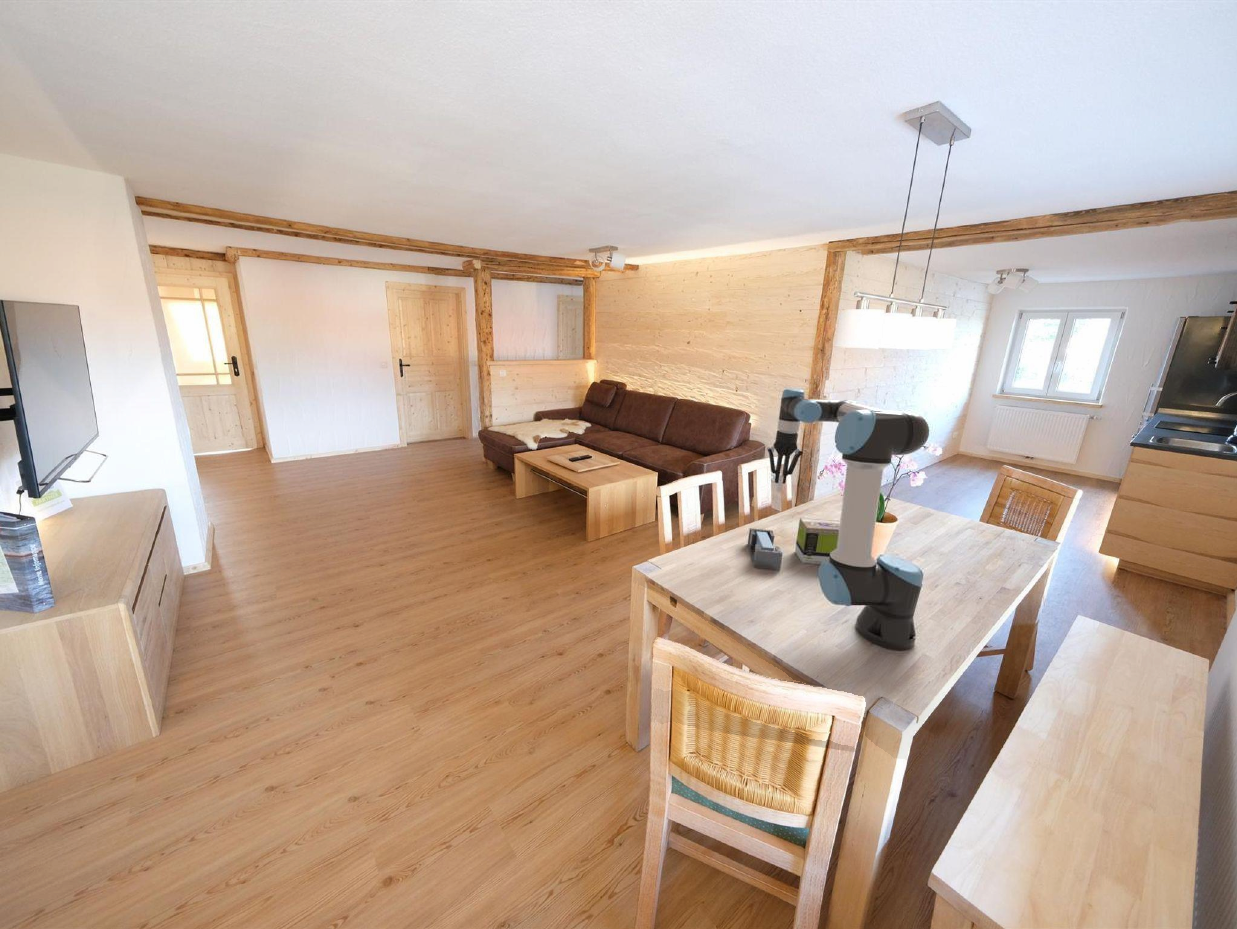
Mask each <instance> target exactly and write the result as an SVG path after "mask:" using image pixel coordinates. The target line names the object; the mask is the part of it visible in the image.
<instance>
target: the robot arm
mask: <svg viewBox="0 0 1237 929" xmlns="http://www.w3.org/2000/svg"><path fill="white" fill-rule="evenodd" d="M781 395H782V396H781V398H780V407H779V414H778V415H779V416H778V421H777V431H776V434H775V435H776V436H775V441H774V443H773V445H772V446H769V447H767V448H766V450H767V452H768V456H769V463H770V464H769V465H770V472H771V473H772V474H774V483H775V484H776V486H775V491H776V492H777V493H782V490H783V484H786V481H787V477H788V476H791V475H793V473H794V470H795V468H796V466H797V463H798V460H799V458H800V457H801V456H802V455H803V450H801V449H800V448H798V438H799V433H798V432H799V430H800V426H801V425H800V424H801V423H806V424H812V423H815V422H823V423H824V422H829V423H830V422H831V423H833V422H834V423H838V424H837V427H836V429H835V432H834V433H835V435H834V443H835V447H836V450H837V452H839V453H840V454H841V460H842V461H843V462H844V463H845V464H846V473H845V480H844V488H843V497H842V505H841V511H840V520H839V522H840V526H839V534H838V542H837V549H835V550H834V551H832V552H831V553H830V558H829V562H824V563H822V564H819V568H818V575H817V576H818V582H819V587H820V589H821V591H822V593H823V595H824V597H825V598H826V600H828V602H830V604H832V605H836V606H845V607H850V606H864V607H863V608H862V609H861V611H860V613H859V614H858V615H857V617H856V621H855V629H856V631H857V632H858V633H859V634H860V636H862V637H863V638H864V639H866V640H867V641H869V642H871V643H873V644H874V645H877V646H880V647H882V648H886V649H889V650H892V651H893V650H894V651H906V650H910V649H911V648H913V647H914V645H915V642H916V638H917V635H916V628H915V622H914V621H915V620H914V616H915V612H916V608H917V604H918V601H919V598H920V594H921V589H922V587H923V579H924V573H923V570H922V569H921V568H920V567H918V565H916V564H915V563H913V562H911V561H909V560H908V559H904V558H901V557H899V556H895V555H893V554H892V555H890V554H886V553H885V554H880V555H878V556H877V558H876V559H875V558H874V557H873V555H872V550H873V546H874V544H873V543H874V537H875V530H876V523H877V517H878V516H877V515H878V508H879V502H880V494H881V488H882V487H881V486H882V480H883V473H884V469H885V468H887V467H888V466H890V465H891V464H892V458H893V456H904V455H910V454H913V453H916V452H917V451H918V450H920V449H921V448H923V447H924V445H925V444H926V443H927V441H928V439H929V437H930V427H929V424H928V422H927V420H926V419H925V418H924V417H923V416H921V415H920V414H917V413H916V412H912V411H906V410H903V411H901V410H899V411H898V410H883V409H880V408H879V409H878V408H875V407H871V406H866V405H863V404H858V402H857V401H854V400H847V399H844V400H838V399H835V400H834V399H816V398H815V399H814V398H813V399H811V398H805V391H804V390H803V389H800V388H785V389H783V391H782V394H781ZM775 451H776V453H777V460H776V461H777V462H776V465H775V456H774V452H775ZM793 453H795V454H794V455H793V458H792V459H791V456H792V454H793ZM783 458H784V460H783ZM790 460H791V461H790ZM782 464H783V468H782ZM781 470H782V473H781Z"/></svg>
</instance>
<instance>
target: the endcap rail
mask: <svg viewBox="0 0 1237 929" xmlns="http://www.w3.org/2000/svg"><path fill="white" fill-rule="evenodd" d="M748 531H749V532H748V538H747V547H748V550H749V553H750V556H751V561H752V565H753V568H754V569H759V570H770V571H778V572H780V571H781V566H782V559H783V551H781V548H780V546H779V545H778V546H777V545H775V547H774V551H768V550H761V549H760V546H759V544H756V545H755V538H756V531H757V532H767V534H768V536H769V538H770V541H771V543H772V545H773V546H774V540H775V534H774V530H773V529H772V530H771V529H770V530H769V529H761V528H760V529H759V528H751V527H750V528H749V530H748Z"/></svg>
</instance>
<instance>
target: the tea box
mask: <svg viewBox="0 0 1237 929" xmlns="http://www.w3.org/2000/svg"><path fill="white" fill-rule="evenodd" d="M798 522H799V523H798V529H797V536H796V542H795V551H794V552H795V554H796V555H797V557H798V559H799V560H800V562H801V563H802V564H811V565H813V564H815V565H821V564H822V563H824V562H829V558H830V553H831V552H832V551H834V550H835V549H837V542H838V534H839V526H840V520H834V519H833V520H832V519H819V518H802V517H800V518H799V521H798Z"/></svg>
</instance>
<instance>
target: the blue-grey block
mask: <svg viewBox="0 0 1237 929" xmlns="http://www.w3.org/2000/svg"><path fill="white" fill-rule="evenodd" d="M756 544H759V546H760V549H761V550H768V551H775V547H774V544H773V545H772V543H771V541H770V538H769V536H768V534H767V532H757V531H756V538H755V545H756Z"/></svg>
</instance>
